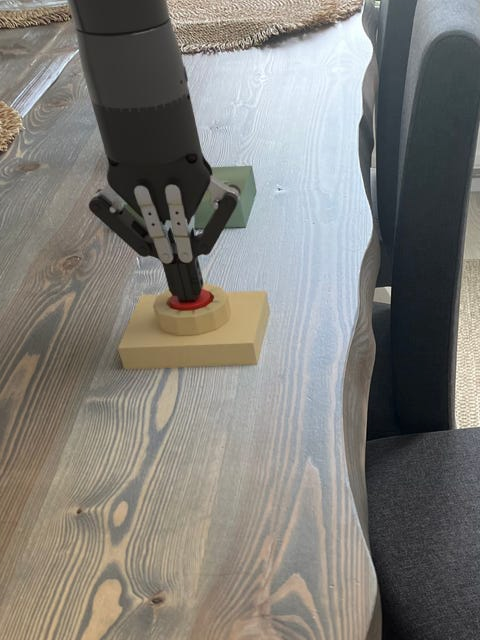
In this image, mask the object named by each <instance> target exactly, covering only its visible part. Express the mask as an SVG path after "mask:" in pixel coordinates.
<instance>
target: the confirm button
mask: <svg viewBox="0 0 480 640" xmlns="http://www.w3.org/2000/svg"><path fill="white" fill-rule="evenodd" d="M210 303H211V297H210V294H209V292H208V291H207V290H205V289H202V291H201V293H200V295H198V297H197V300H196V301H195V302H179V301H178V297H177V296H173V295H171V297H170V304H171V308H172V309H175V310H179V311H191V310H196V309H200V308H203V307H205V306H207V305H208V304H210Z"/></svg>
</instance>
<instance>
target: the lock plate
mask: <svg viewBox="0 0 480 640" xmlns="http://www.w3.org/2000/svg"><path fill="white" fill-rule="evenodd" d="M211 169H212V175H213V176H214V177H216V178H217V179H219V180H220V181H222V182H223V183H225V184H226V185H228V186H229V185H231V184H234V185H236V186H238V187H239V188H240V191H241V195H240V197H239V200H238V203H237V206H236V208H235V210H234V211H233V213H232V215H231V217H230V219H229V220H228V222H227V224H226V226H225V227H224V229H232V228H246V226H247V224H248V221H249V218H250V214H251V211H252V207H253V204H254V201H255V198H256V195H257V186H256V180H255V174H254V168H253V166H252V165H233V166H230V165H229V166H211ZM210 198H211V195H210V192H209V191H208V190H207V191H206V193H205V195H204V197H203V199H202V201H201V203H200V205H199V207H198V209H197V211H196V213H195V214H194V219H195V223H194V227H195V230H204V229H205V227H206V225H207V223H208V221H209V220H210V218H211V216H212V214H213V212H214V210H215V209H213V208H212V207H211V205H210ZM122 200H123V199H122ZM123 201H124V200H123ZM124 207H125V208H126V209H127V210H128V211H129V212H130V213H131V214H132V215H133V216H134V217H136V218H137V219H138V220H139V221H140V222H141V223H142V224H143V225H144V226H145V227H146V228H147V226H146V223H145V220H144V219H143V218H142V217H140V216H139V215H138V214H137V213H136V212H135V211H134V210H133V209H132V208H131V207H130V206H129V205H128V204H127V203H126V202H125V201H124Z"/></svg>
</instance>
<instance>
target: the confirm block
mask: <svg viewBox="0 0 480 640" xmlns="http://www.w3.org/2000/svg"><path fill="white" fill-rule="evenodd" d="M202 289H205V290H207V291H208V292H209V294H210V297H211V303H210V304H208V305H207V306H205V307H203V308H200V309H196V310H191V311H179V310H175V309H172V308H171V304H170V297H171V295H172V294H171V292H170V291H169V288H168V289H166V290H165V291H164V292H162V293H160V294H141V295H140V296H139V299H138V300H137V303H136V305H135V307H134V310H133V312H132V315H131V316H130V319H129V322H128V324H127V326H126V328H125V330H124V333H123V334H122V337H121V340H120V342H119V344H118V347H117V350H118V353H119V357H120V360H121V363H122V367H123V369H124V370H150V369H174V368H175V369H176V368H201V367H204V368H205V367H229V366H232V367H233V366H255V365H256V366H257V365H258V364H259V361H260V356H261V353H262V352H261V351H262V347H263V343H264V339H265V335H266V331H267V327H268V323H269V319H270V314H271V309H270V303H269V298H268V292H267V290H247V291H225V290H224V289H223V288H222V287H221V286H218V285H214V284H211V283H207V282H206V283H205V282H204V283H203V288H202Z"/></svg>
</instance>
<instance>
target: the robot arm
mask: <svg viewBox="0 0 480 640" xmlns="http://www.w3.org/2000/svg"><path fill="white" fill-rule="evenodd" d="M66 1H67V5H68V9H69V13H70V16H71V20H72V23H73V26H74V31H75V34H76V35H75V36H76V41H77V46H78V47H77V48H78V54H79V61H80V65H81V69H82V73H83V77H84V79H85V84H86V87H87V90H88V95H89V98H90V102H91V105H92V109H93V113H94V116H95V119H96V124H97V126H98V131H99V134H100V139H101V142H102V145H103V149H104V152H105V156H106V159H107V162H108V167H107V170H106V181H107V183H106V184H105V186H104V187H103V188H98V189H97V190H96V191H95V193H94V194H93V196H92V198H91V199H90V201H89V203H88V208H89V211H90V212H91V213H92V214H94V215H95V217H97V218H98V219H99V221H101V222H102V223H103V224H104V225H105V226H107V227H108V229H110V230H111V231H112V232H113V233H114V234H115V235H116V236H118V237H119V238H120V239H121V240H122V241H123V242H124V243H126V245H127V246H129V247H130V248H131V250H133V251H134V252H135V253H137V255H138V256H140V257H143V258H146V257H153V258H155V259H158V260H159V261H160V262H161V264H162V269H163V272H164V275H165V280H166V283H167V287H168V289H169V291H170V292H171V294H172V295H173V296H177V297H178V301H179V302H195V301H196V300H197V297H198V295H200V293H201V291H202V288H203V283H205V282H204V278H203V273H202V269H201V265H200V261H199V256H202V255H203V256H208V255H209V254H211V252H212V250H213V249H214V247H215V245H216V243H217V242H218V240H219V238H220V236H221V235H222V233H223V231H224V229H225V228H224V227H225V226H226V224H227V222H228V220H229V219H230V217H231V215H232V213H233V211H234V210H235V208H236V206H237V203H238V200H239V197H240V195H241V191H240V188H239V187H238V186H236V185H234V184H231V185H229V186H228V185H226V184H225V183H223V182H222V181H220V180H219V179H217V178H216V177H214V176H213V175H212V169H211V167H212V166H211V164H210V163H209V162H208V161H207V159H206V157H205V156H204V153H203V151H202V146H201V140H200V136H199V132H198V126H197V122H196V117H195V113H194V107H193V103H192V100H191V99H192V98H191V94H190V93H191V92H190V89H189V84H188V81H189V78H188V74H187V73H188V72H187V68H186V66H185V64H184V60H183V56H182V51H181V48H180V44H179V42H178V38H177V36H176V32H175V31H174V27H173V23H172V19H171V16H170V12H169V7H168V1H167V0H66ZM207 190H208V191H209V192H210V195H211V198H210V205H211V207H212V208H213V209H215V210H214V212H213V214H212V216H211V218H210V220H209V221H208V223H207V225H206V227H205V229H202V231H201V233H198V234H196V229H195V227H194V223H195V219H194V214H195V213H196V211H197V209H198V207H199V205H200V203H201V201H202V199H203V197H204V195H205V193H206V191H207ZM122 199H123V200H124V201H125V202H126V203H127V204H128V205H129V206H130V207H131V208H132V209H133V210H134V211H135V212H136V213H137V214H138V215H139V216H140V217H142V218H143V219H144V220H145V223H146V226H147V228H146V227H145V226H144V225H143V224H142V223H141V222H140V221H139V220H138V219H137V218H136V217H134V216H133V215H132V214H131V213H130V212H129V211H128V210H127V209H126V208H125V207H124V201H123V200H122Z"/></svg>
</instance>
